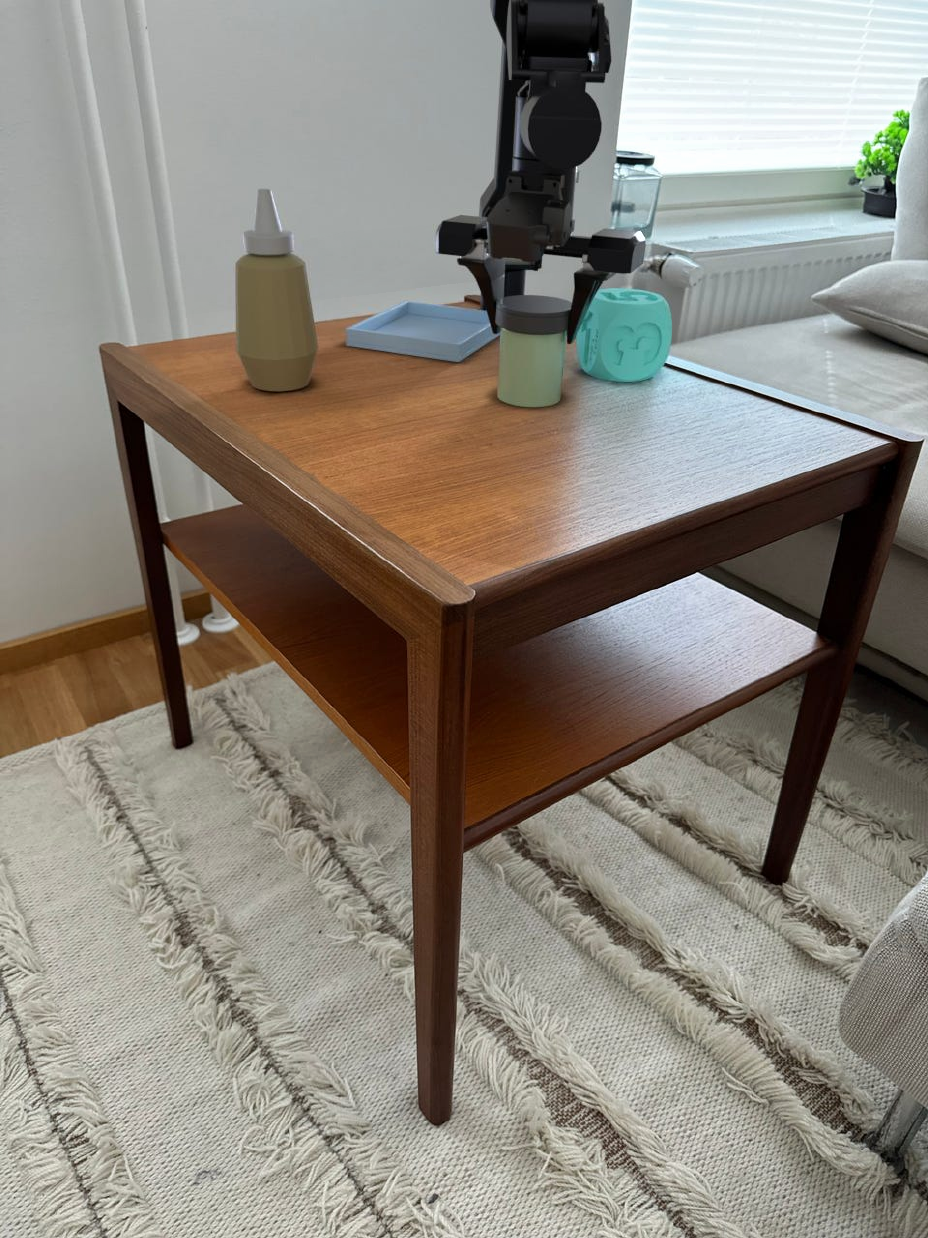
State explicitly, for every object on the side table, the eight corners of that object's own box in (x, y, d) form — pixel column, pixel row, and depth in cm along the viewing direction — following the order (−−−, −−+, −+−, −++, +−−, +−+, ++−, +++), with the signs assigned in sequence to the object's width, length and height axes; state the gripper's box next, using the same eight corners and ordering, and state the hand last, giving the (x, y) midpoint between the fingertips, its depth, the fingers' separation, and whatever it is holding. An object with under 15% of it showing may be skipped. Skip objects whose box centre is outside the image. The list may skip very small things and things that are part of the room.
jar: (509, 383, 93) (514, 298, 89) (568, 392, 91) (576, 306, 87) (487, 401, 88) (491, 311, 84) (549, 411, 86) (557, 320, 82)
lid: (510, 311, 90) (511, 291, 89) (582, 320, 88) (584, 300, 87) (483, 327, 84) (484, 306, 83) (559, 337, 82) (561, 316, 81)
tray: (406, 316, 117) (406, 300, 116) (508, 329, 112) (509, 313, 111) (346, 345, 104) (345, 328, 103) (458, 362, 99) (459, 344, 98)
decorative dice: (572, 361, 101) (580, 287, 97) (640, 360, 102) (649, 287, 98) (594, 383, 94) (603, 305, 90) (665, 381, 96) (677, 304, 91)
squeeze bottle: (304, 400, 87) (290, 197, 77) (226, 392, 88) (203, 192, 79) (331, 376, 94) (321, 186, 84) (258, 369, 95) (240, 182, 85)
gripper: (410, 157, 75) (410, 345, 83) (627, 173, 69) (605, 373, 78) (460, 149, 84) (456, 319, 92) (657, 162, 78) (634, 343, 86)
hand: (532, 337), depth 87 cm, fingers closed on lid, 7 cm apart
